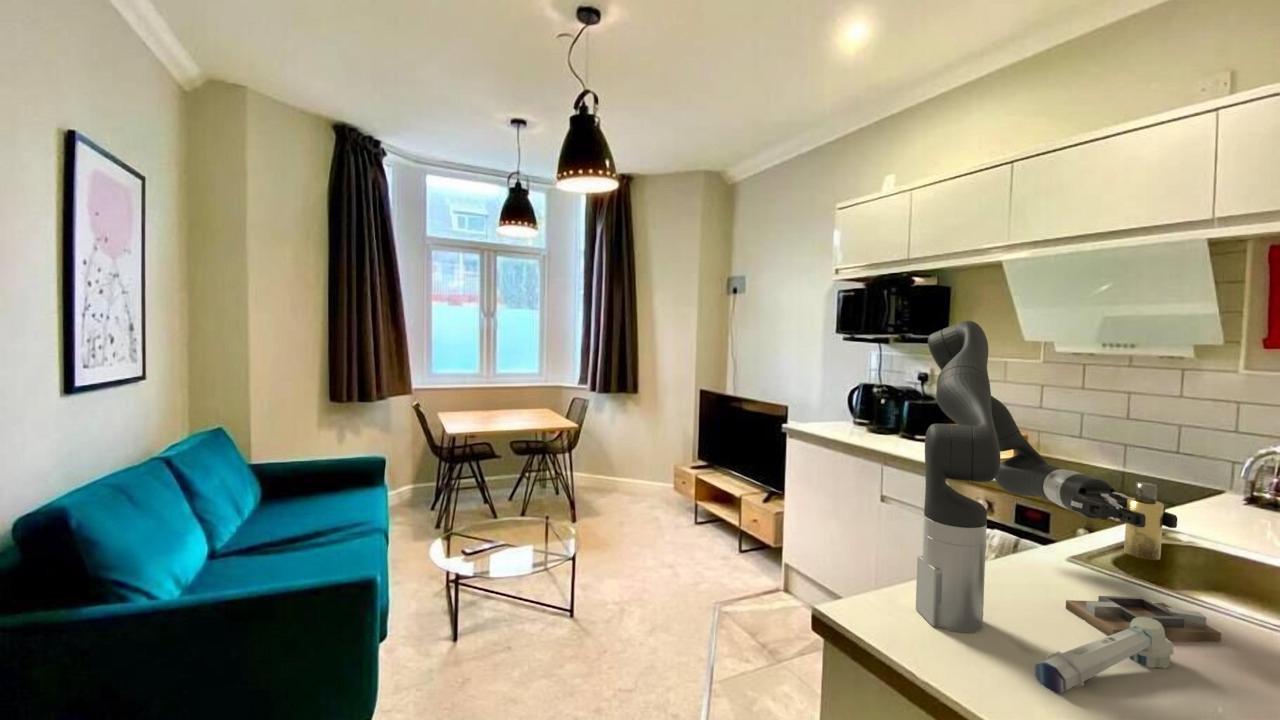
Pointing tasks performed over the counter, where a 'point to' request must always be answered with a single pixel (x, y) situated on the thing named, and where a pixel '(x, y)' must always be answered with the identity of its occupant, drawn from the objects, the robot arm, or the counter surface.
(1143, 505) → the gold perfume bottle
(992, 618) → the counter surface
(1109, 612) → the collar and shafts
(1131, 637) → the grey long angled piece
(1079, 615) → the walnut plate
